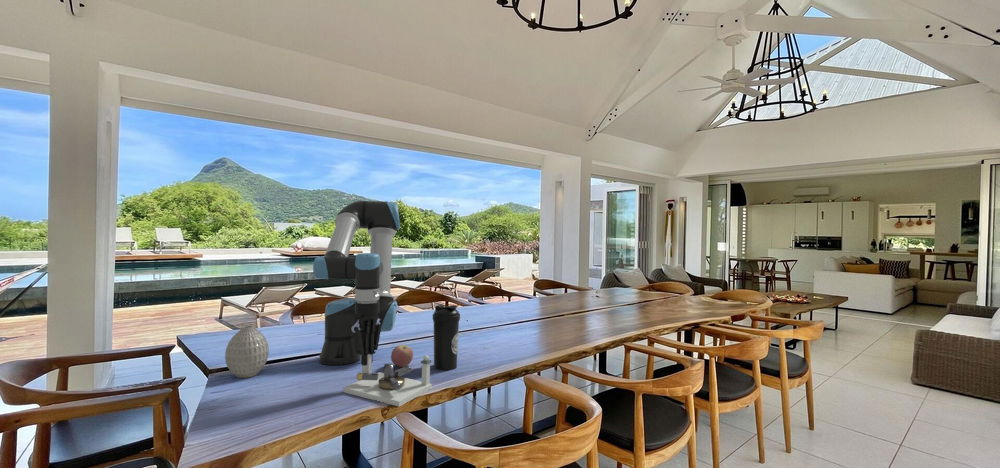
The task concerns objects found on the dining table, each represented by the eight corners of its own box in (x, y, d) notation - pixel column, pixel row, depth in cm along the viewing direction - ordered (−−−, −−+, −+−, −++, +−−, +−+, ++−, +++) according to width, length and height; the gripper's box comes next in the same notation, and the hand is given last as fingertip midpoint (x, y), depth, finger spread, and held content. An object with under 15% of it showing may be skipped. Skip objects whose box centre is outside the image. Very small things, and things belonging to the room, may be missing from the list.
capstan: (346, 395, 124) (346, 374, 124) (365, 374, 142) (365, 355, 142) (400, 396, 124) (400, 375, 124) (412, 375, 142) (412, 356, 142)
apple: (393, 371, 151) (394, 349, 151) (388, 365, 158) (389, 343, 158) (415, 368, 155) (415, 346, 154) (409, 362, 161) (410, 341, 161)
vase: (276, 371, 148) (277, 324, 148) (244, 383, 136) (244, 332, 136) (249, 366, 152) (250, 321, 152) (215, 378, 140) (216, 328, 140)
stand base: (343, 392, 131) (344, 357, 131) (379, 376, 145) (379, 345, 145) (399, 406, 121) (399, 369, 121) (431, 388, 136) (432, 354, 135)
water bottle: (454, 372, 151) (455, 308, 151) (427, 369, 153) (428, 307, 153) (462, 363, 161) (463, 304, 161) (437, 361, 163) (438, 302, 163)
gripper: (361, 305, 127) (360, 382, 128) (390, 299, 139) (389, 370, 139) (343, 303, 131) (342, 378, 131) (372, 297, 142) (372, 366, 143)
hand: (366, 374), depth 135 cm, fingers closed
